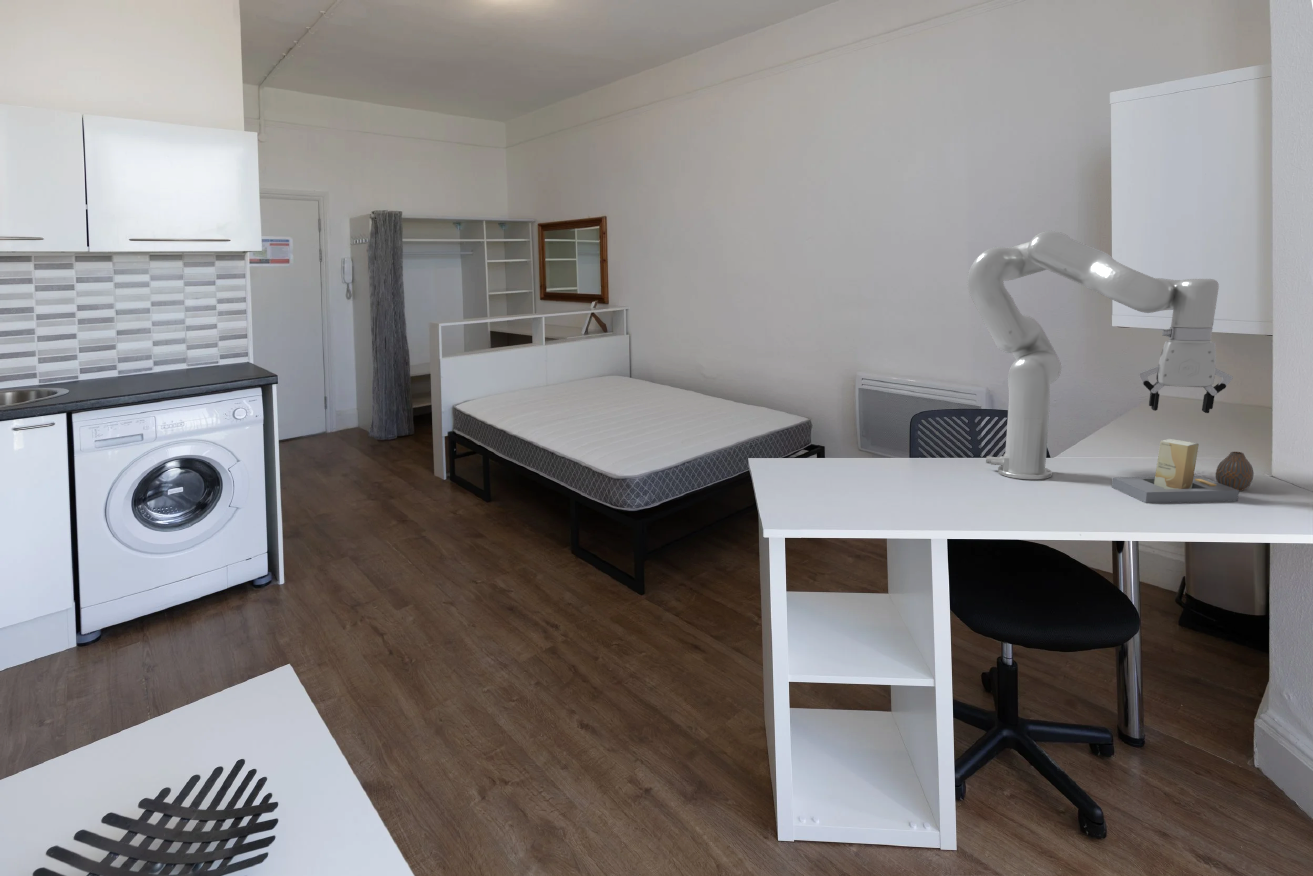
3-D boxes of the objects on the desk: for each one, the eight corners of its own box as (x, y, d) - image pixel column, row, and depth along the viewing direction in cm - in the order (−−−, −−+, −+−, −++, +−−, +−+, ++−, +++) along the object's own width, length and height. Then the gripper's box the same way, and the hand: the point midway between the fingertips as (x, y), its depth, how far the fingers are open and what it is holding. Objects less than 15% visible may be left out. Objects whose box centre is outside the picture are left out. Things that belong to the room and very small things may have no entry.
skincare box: (1152, 490, 168) (1158, 440, 165) (1163, 488, 170) (1168, 438, 167) (1182, 497, 162) (1188, 445, 160) (1193, 494, 164) (1199, 442, 161)
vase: (1221, 491, 166) (1225, 455, 165) (1209, 484, 173) (1213, 448, 171) (1256, 493, 164) (1262, 456, 162) (1243, 485, 170) (1248, 450, 169)
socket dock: (1145, 503, 160) (1147, 491, 159) (1111, 487, 173) (1112, 476, 172) (1237, 501, 159) (1239, 489, 159) (1196, 485, 172) (1197, 474, 171)
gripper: (1147, 336, 159) (1137, 411, 163) (1243, 337, 152) (1231, 416, 155) (1141, 333, 165) (1131, 406, 169) (1233, 334, 158) (1221, 410, 162)
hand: (1179, 410), depth 162 cm, fingers open, 9 cm apart
